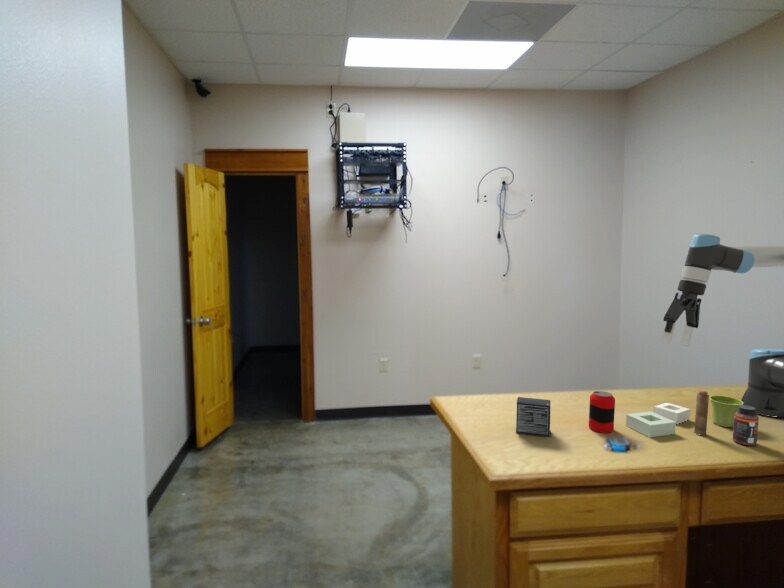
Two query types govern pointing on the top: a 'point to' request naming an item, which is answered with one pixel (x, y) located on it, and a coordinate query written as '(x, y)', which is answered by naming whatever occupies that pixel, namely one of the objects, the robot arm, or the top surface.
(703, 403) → the brown cylinder
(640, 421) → the pale open box
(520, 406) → the small box
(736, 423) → the supplement bottle
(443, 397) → the top surface
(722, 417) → the plant pot
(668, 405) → the white hollow block
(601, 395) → the soda can
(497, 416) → the top surface
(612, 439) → the top surface
